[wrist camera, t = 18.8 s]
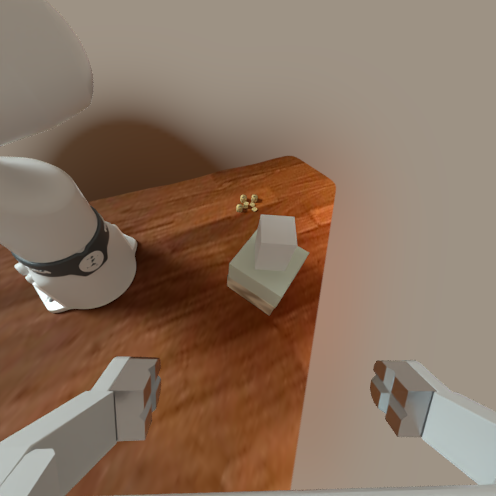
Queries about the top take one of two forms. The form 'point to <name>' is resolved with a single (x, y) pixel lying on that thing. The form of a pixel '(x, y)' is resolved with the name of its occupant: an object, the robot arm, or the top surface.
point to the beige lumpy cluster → (243, 200)
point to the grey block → (275, 242)
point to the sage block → (264, 273)
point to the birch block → (250, 296)
